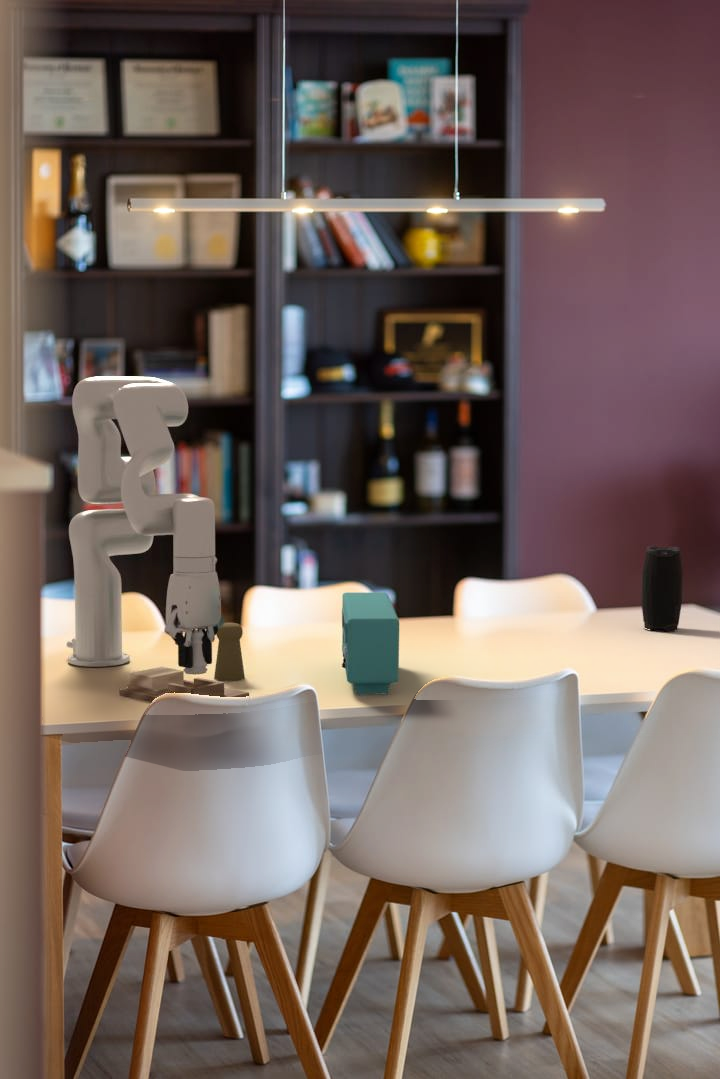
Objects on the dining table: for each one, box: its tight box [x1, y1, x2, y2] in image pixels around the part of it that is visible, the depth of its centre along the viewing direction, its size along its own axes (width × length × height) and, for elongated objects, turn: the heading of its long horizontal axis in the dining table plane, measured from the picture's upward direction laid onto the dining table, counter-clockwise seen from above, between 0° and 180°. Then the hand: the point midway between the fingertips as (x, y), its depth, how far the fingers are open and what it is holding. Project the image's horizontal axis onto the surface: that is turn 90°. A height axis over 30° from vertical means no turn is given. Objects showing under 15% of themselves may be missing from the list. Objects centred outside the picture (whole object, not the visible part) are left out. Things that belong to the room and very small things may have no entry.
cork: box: [213, 622, 246, 682], centre depth 292 cm, size 6×6×11 cm
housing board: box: [118, 677, 250, 703], centre depth 275 cm, size 20×14×3 cm
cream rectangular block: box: [129, 666, 185, 691], centre depth 278 cm, size 6×8×3 cm
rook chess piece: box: [183, 628, 208, 675], centre depth 271 cm, size 4×4×8 cm
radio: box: [341, 592, 400, 695], centre depth 291 cm, size 34×10×15 cm, turn 2°
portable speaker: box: [641, 545, 684, 632], centre depth 351 cm, size 9×9×20 cm
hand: (195, 664), depth 271 cm, fingers closed on rook chess piece, 4 cm apart
